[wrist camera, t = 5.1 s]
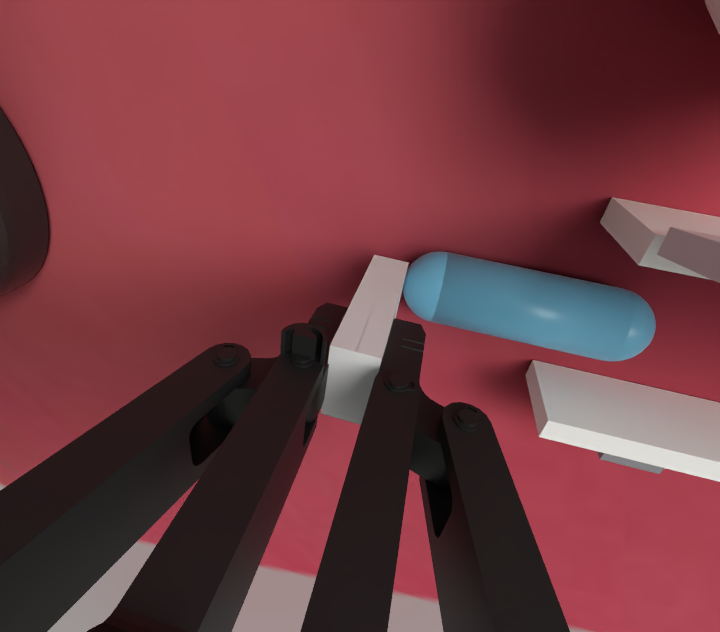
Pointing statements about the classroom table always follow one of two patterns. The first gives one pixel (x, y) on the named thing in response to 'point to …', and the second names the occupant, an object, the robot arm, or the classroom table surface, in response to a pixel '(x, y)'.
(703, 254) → the cover
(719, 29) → the lidded jar
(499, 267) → the blue pill shape
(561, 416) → the white latched case
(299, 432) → the robot arm
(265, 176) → the classroom table surface
